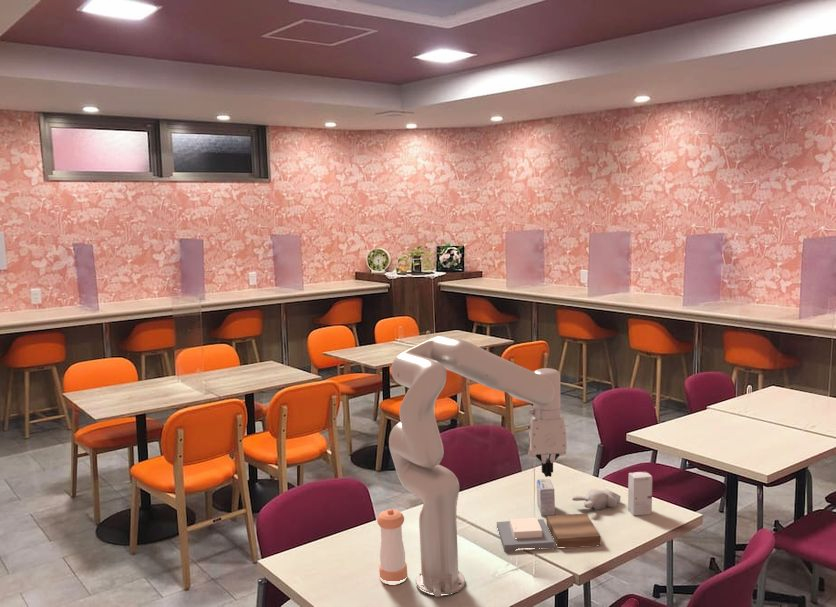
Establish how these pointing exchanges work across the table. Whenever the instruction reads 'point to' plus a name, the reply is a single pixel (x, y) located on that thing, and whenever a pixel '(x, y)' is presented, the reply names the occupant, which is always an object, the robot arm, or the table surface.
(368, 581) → the table surface
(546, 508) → the medicine box
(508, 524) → the mat
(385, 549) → the pepper shaker
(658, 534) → the table surface
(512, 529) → the coaster
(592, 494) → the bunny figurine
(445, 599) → the table surface
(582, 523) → the serving board
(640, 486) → the skincare box
